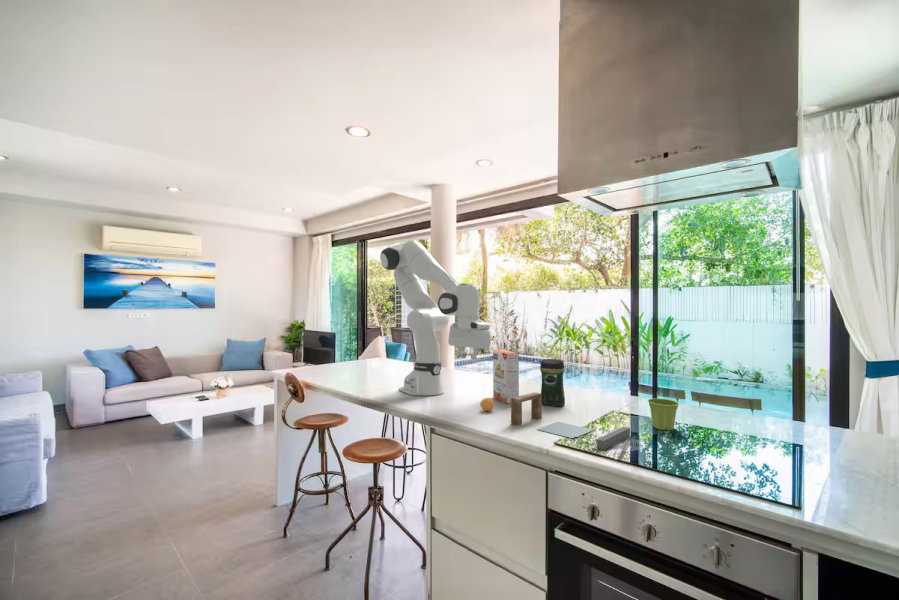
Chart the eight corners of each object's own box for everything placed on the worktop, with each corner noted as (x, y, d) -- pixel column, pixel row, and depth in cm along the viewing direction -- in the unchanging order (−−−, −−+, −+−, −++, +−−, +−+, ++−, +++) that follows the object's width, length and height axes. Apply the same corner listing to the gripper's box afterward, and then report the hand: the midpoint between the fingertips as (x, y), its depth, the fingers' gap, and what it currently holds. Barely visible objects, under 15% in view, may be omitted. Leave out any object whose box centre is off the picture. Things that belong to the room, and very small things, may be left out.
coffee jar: (566, 403, 169) (566, 358, 170) (562, 408, 162) (562, 360, 163) (543, 401, 174) (543, 357, 174) (538, 405, 167) (538, 359, 167)
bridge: (511, 423, 140) (511, 398, 140) (534, 416, 149) (534, 392, 150) (518, 425, 138) (518, 399, 138) (541, 417, 147) (541, 393, 147)
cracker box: (492, 397, 181) (492, 349, 182) (504, 396, 183) (504, 349, 183) (505, 404, 168) (506, 353, 168) (519, 403, 170) (519, 352, 170)
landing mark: (536, 429, 133) (536, 429, 133) (558, 422, 142) (558, 421, 142) (573, 439, 124) (573, 438, 124) (593, 430, 133) (593, 429, 133)
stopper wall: (596, 448, 116) (596, 439, 116) (623, 434, 128) (623, 426, 128) (603, 449, 114) (603, 440, 114) (630, 436, 127) (630, 427, 127)
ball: (478, 411, 156) (478, 398, 156) (486, 409, 160) (486, 396, 160) (488, 413, 153) (488, 400, 153) (496, 411, 156) (496, 398, 156)
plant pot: (684, 428, 135) (684, 402, 135) (671, 434, 129) (671, 406, 129) (655, 422, 142) (655, 397, 143) (642, 427, 137) (642, 401, 137)
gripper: (444, 323, 169) (444, 356, 169) (482, 324, 155) (482, 361, 154) (455, 322, 174) (455, 355, 174) (493, 324, 159) (492, 360, 159)
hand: (468, 358), depth 164 cm, fingers open, 4 cm apart
